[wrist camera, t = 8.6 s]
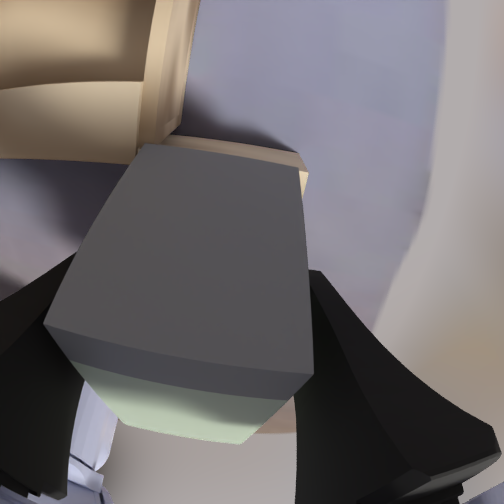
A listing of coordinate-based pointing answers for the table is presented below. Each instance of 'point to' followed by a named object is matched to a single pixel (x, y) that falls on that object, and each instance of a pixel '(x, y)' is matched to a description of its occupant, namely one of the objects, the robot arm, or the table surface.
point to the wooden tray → (91, 76)
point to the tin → (192, 295)
